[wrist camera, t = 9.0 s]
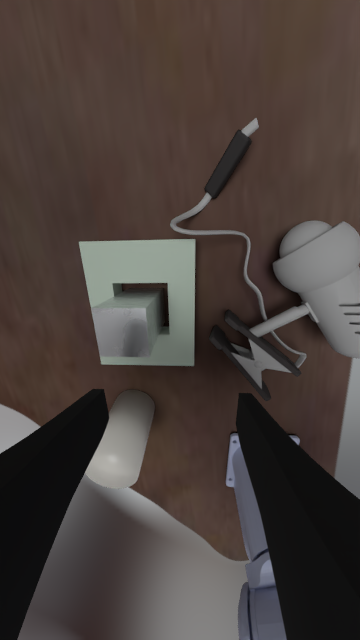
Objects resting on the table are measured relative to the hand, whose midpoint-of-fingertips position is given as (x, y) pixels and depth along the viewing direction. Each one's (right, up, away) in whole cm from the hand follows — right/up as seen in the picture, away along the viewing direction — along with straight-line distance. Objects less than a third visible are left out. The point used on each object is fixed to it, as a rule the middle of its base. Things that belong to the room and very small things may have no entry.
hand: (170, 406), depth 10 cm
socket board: (-3, +6, +8) cm, 10 cm away
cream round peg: (-5, -6, +12) cm, 14 cm away
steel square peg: (-3, +6, +8) cm, 10 cm away
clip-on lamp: (+7, +9, +7) cm, 13 cm away
